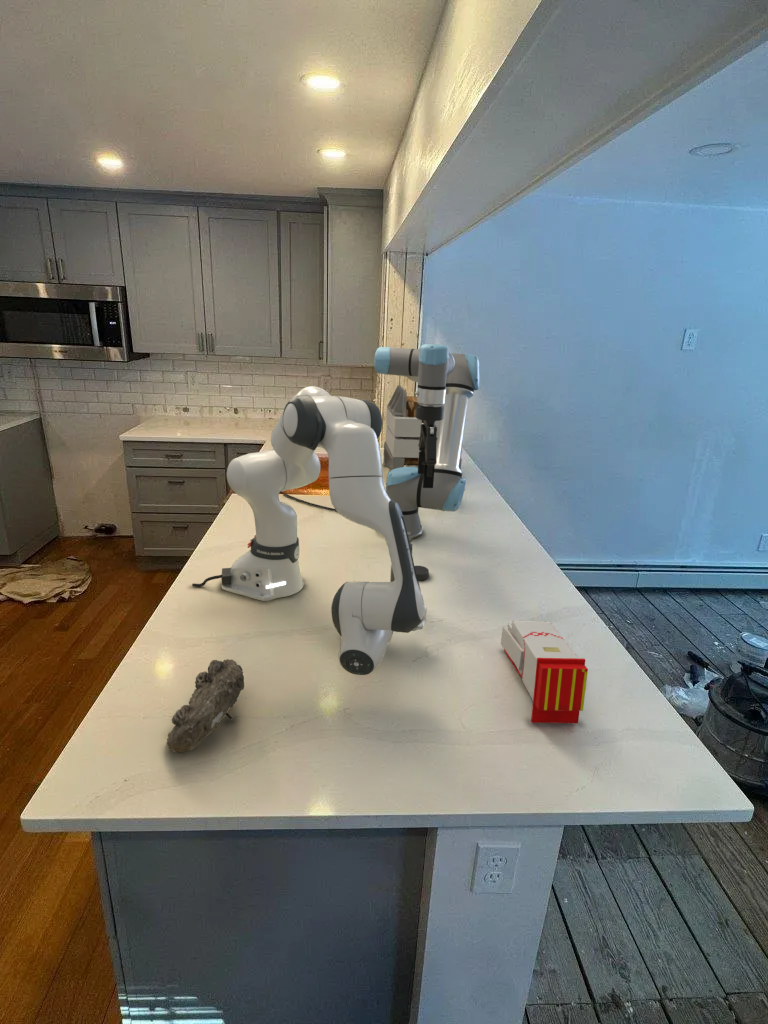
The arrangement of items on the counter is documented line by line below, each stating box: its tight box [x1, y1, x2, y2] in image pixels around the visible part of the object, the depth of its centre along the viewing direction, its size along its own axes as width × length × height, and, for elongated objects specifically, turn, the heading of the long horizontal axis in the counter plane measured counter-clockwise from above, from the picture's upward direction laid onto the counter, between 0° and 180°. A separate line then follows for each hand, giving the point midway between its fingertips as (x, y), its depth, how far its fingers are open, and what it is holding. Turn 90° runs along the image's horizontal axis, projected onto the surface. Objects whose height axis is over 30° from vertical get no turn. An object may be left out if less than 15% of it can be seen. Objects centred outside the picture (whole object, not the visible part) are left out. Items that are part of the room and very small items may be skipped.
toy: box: [500, 620, 589, 724], centre depth 121 cm, size 12×13×30 cm
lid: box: [414, 565, 430, 582], centre depth 169 cm, size 6×6×2 cm
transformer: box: [382, 384, 464, 472], centre depth 268 cm, size 34×33×41 cm
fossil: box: [166, 658, 245, 754], centre depth 106 cm, size 22×10×15 cm
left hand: (389, 594), depth 138 cm, fingers open, 8 cm apart
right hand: (425, 480), depth 159 cm, fingers open, 13 cm apart
